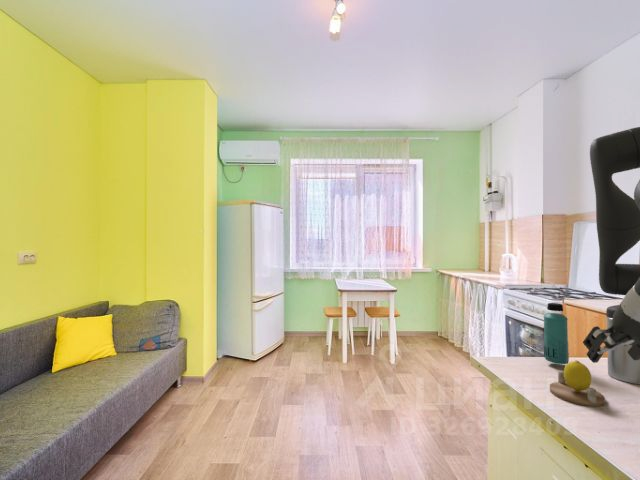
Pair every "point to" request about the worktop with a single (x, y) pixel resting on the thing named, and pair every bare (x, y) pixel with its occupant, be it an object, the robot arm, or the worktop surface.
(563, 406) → the worktop surface
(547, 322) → the beverage bottle
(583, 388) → the lemon
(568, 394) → the pin dish
